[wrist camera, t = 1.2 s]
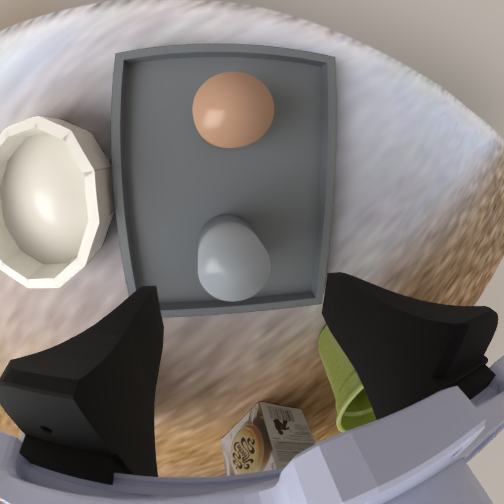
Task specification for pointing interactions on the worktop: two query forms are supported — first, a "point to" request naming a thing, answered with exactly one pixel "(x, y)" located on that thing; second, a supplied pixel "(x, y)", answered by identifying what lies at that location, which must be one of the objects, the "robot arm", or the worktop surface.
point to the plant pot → (344, 385)
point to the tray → (222, 173)
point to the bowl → (51, 200)
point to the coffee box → (265, 439)
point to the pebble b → (232, 110)
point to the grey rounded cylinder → (231, 259)
